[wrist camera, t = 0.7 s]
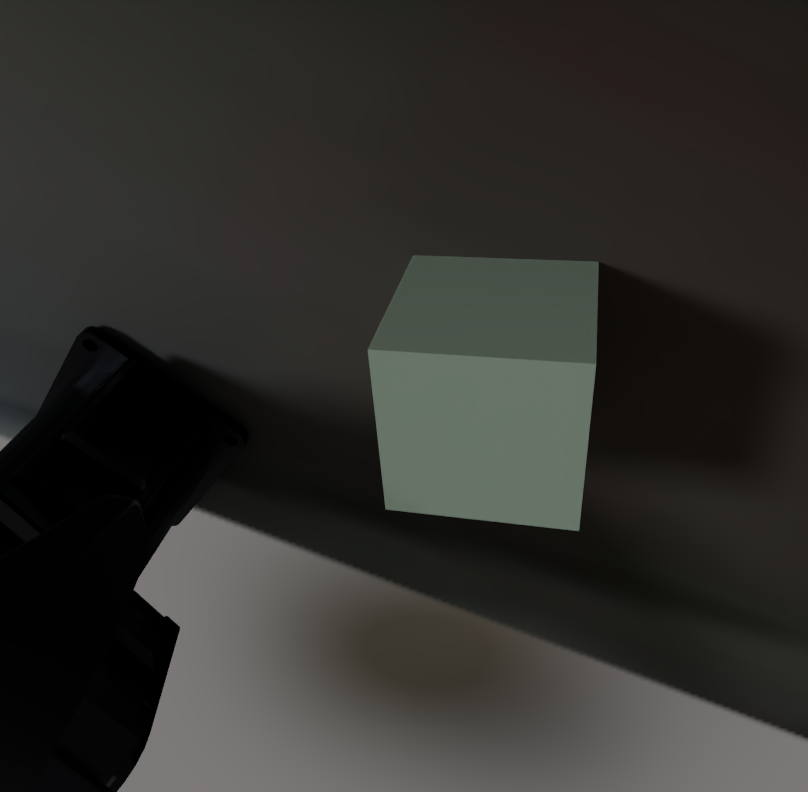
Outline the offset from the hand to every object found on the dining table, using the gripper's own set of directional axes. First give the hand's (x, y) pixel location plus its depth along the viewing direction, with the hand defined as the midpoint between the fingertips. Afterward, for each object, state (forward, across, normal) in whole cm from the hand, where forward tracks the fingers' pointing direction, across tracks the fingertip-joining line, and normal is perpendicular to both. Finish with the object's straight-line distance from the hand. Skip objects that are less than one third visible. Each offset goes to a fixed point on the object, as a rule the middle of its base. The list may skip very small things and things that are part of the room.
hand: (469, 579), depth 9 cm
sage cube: (+12, 0, +4) cm, 13 cm away
